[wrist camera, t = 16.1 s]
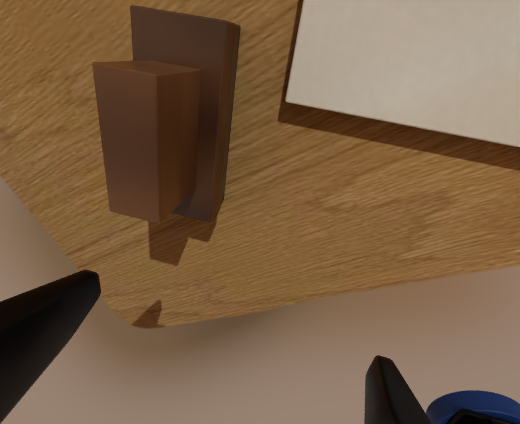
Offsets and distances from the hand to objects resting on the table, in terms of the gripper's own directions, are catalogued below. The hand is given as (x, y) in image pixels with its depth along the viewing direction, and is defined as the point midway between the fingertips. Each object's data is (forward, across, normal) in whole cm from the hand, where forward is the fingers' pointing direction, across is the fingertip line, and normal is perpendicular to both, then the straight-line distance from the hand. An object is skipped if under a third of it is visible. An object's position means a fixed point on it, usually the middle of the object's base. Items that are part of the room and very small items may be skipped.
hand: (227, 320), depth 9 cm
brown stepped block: (+11, +6, -3) cm, 12 cm away
